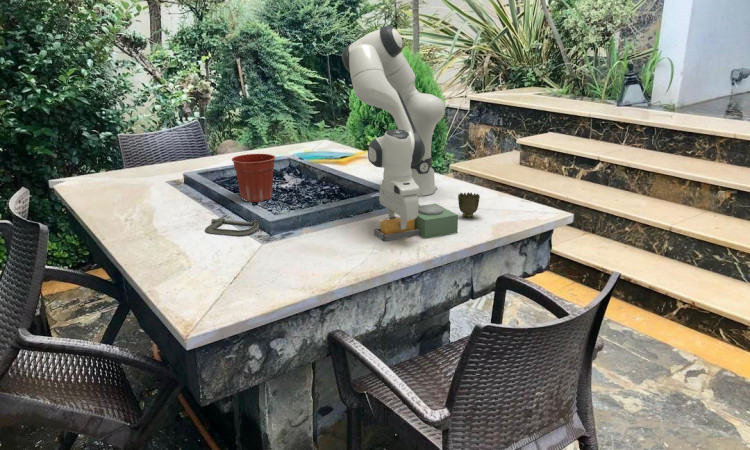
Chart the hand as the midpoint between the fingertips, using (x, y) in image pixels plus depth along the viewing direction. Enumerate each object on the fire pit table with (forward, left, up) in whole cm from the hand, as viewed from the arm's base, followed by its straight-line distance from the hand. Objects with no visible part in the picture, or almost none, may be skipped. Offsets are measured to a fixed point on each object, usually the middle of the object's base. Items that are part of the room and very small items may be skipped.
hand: (397, 225), depth 183 cm
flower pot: (-62, -30, -3) cm, 69 cm away
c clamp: (-31, -46, -4) cm, 55 cm away
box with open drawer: (0, +6, -3) cm, 6 cm away
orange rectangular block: (0, 0, -3) cm, 3 cm away
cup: (-5, +30, -3) cm, 31 cm away
